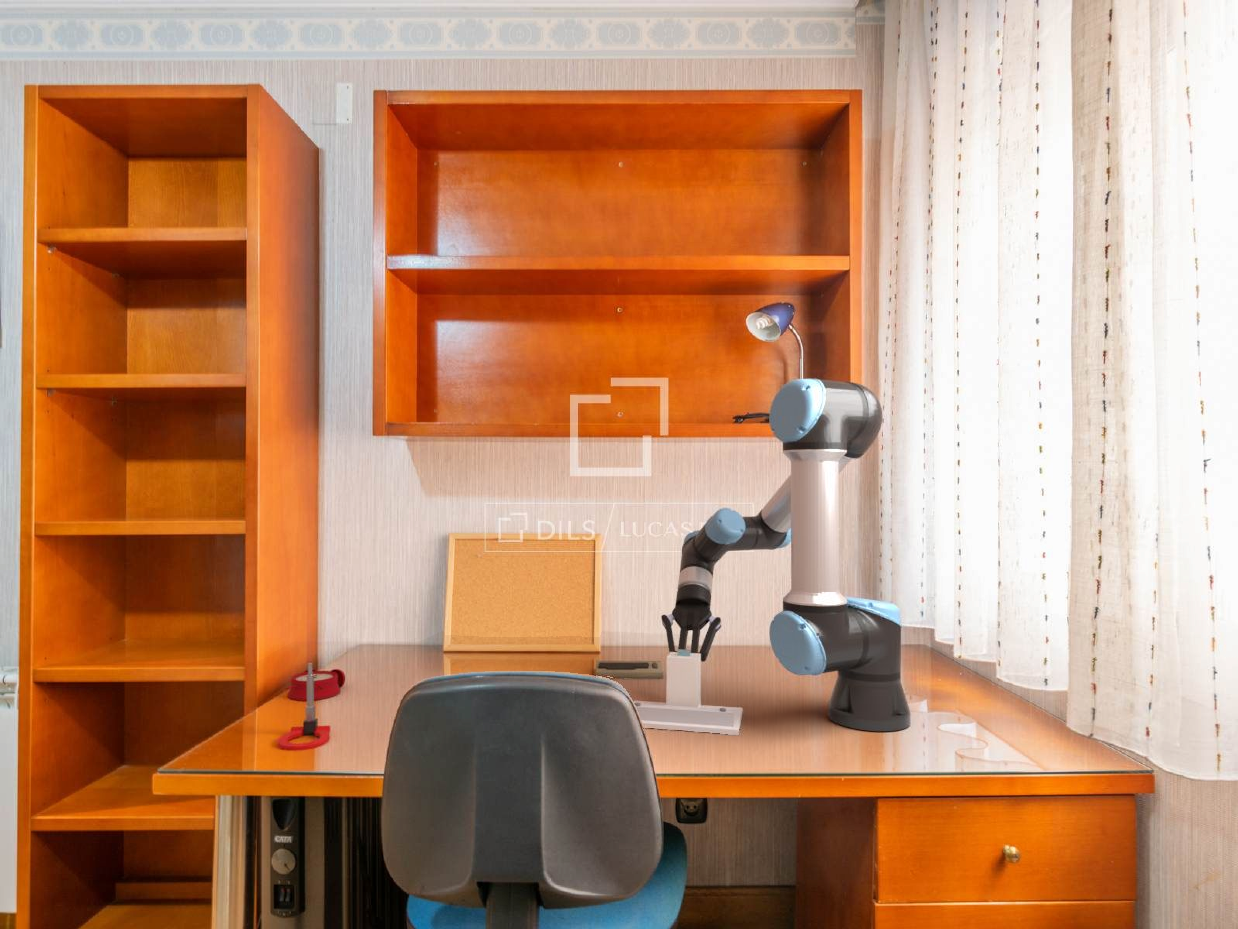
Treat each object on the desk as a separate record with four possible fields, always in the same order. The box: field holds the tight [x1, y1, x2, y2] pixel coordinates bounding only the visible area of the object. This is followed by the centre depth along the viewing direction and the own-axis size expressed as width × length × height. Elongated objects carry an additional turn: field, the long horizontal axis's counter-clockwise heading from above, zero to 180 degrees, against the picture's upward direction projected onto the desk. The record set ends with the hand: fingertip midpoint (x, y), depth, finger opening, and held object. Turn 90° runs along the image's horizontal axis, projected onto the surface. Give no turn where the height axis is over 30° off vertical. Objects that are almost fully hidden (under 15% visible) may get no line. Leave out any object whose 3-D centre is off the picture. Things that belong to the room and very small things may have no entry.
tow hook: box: [277, 662, 331, 751], centre depth 137 cm, size 8×13×9 cm
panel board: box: [633, 700, 744, 736], centre depth 150 cm, size 22×14×4 cm, turn 78°
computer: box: [595, 660, 664, 680], centre depth 185 cm, size 16×8×3 cm, turn 91°
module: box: [665, 648, 702, 708], centre depth 152 cm, size 6×5×12 cm
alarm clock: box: [285, 668, 346, 703], centre depth 168 cm, size 10×6×15 cm
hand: (684, 689), depth 155 cm, fingers closed
